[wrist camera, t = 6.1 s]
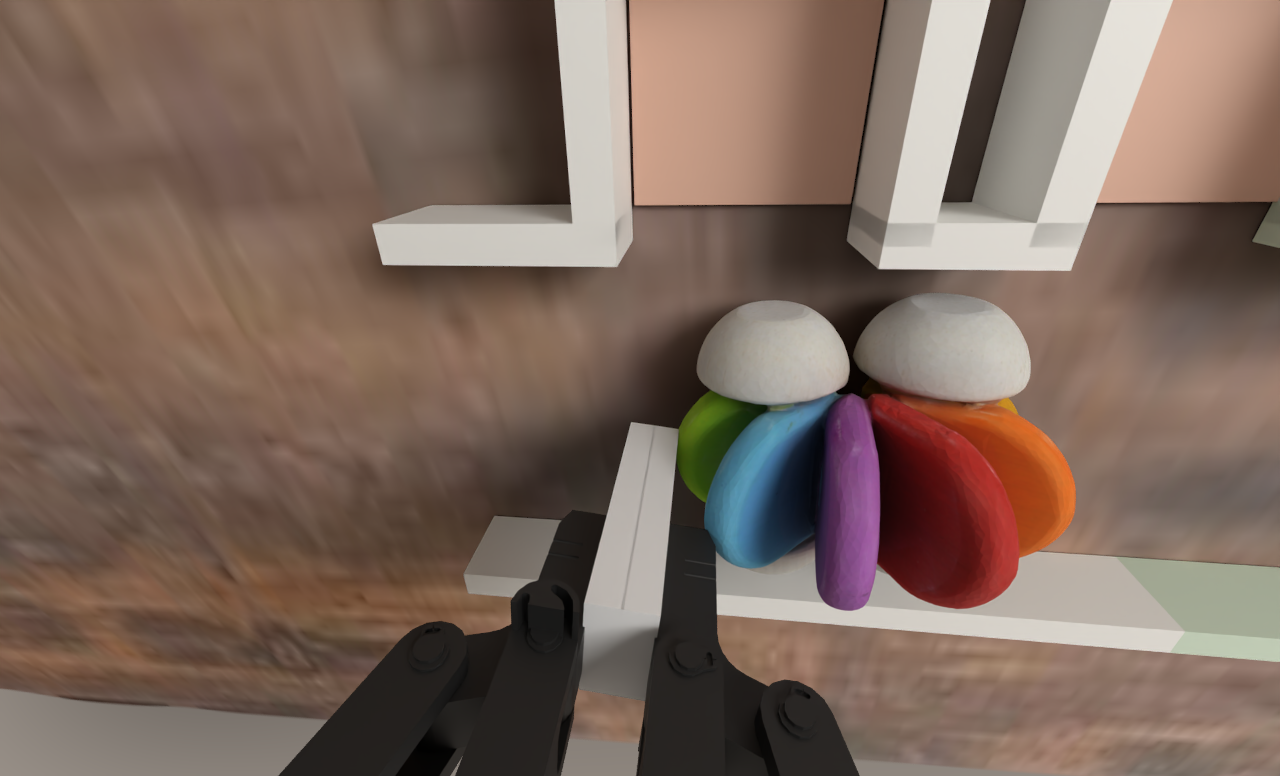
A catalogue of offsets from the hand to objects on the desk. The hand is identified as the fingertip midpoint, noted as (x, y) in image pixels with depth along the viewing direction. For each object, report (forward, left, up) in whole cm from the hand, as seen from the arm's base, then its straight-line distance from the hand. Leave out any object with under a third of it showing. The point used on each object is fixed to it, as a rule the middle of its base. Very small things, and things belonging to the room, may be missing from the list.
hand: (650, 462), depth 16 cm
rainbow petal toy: (+6, +1, -2) cm, 6 cm away
